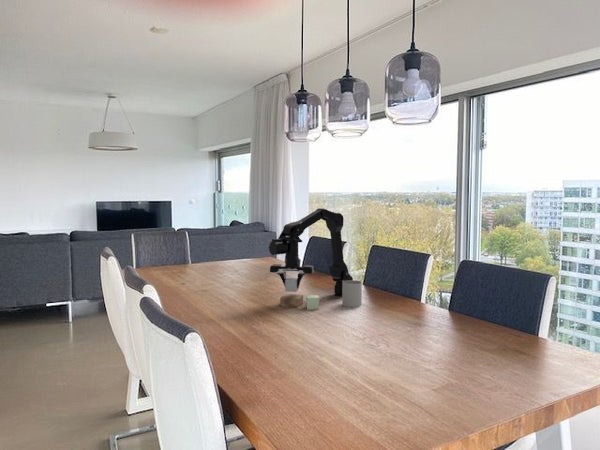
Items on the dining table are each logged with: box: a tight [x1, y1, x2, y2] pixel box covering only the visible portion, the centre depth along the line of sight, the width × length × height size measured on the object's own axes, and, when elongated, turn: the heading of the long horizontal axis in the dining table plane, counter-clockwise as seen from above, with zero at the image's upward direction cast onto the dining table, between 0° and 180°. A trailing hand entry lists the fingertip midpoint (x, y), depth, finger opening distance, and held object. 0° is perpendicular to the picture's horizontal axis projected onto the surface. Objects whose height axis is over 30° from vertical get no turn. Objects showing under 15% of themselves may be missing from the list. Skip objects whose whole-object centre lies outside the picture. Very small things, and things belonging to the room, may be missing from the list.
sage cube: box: [306, 294, 320, 310], centre depth 201 cm, size 5×5×5 cm
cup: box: [341, 279, 363, 308], centre depth 206 cm, size 8×8×10 cm
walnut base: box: [279, 293, 304, 308], centre depth 206 cm, size 8×8×4 cm
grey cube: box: [284, 277, 300, 293], centre depth 206 cm, size 5×5×5 cm
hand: (291, 288), depth 206 cm, fingers closed on grey cube, 5 cm apart
